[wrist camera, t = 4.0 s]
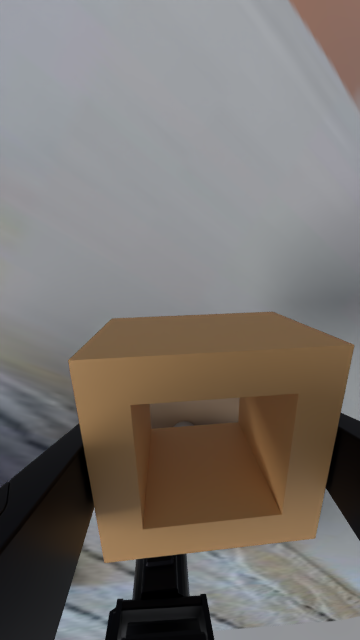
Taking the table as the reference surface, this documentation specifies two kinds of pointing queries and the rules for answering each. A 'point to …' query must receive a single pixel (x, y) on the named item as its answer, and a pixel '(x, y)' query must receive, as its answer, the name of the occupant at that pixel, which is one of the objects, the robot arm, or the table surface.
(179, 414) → the keeper plate
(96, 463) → the tan square ring
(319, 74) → the table surface
